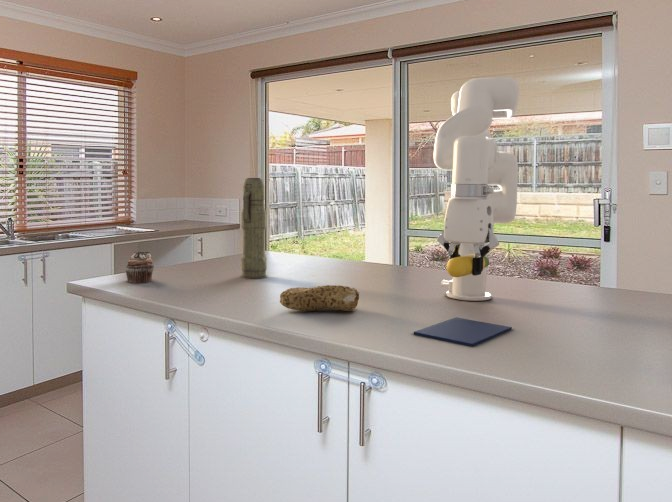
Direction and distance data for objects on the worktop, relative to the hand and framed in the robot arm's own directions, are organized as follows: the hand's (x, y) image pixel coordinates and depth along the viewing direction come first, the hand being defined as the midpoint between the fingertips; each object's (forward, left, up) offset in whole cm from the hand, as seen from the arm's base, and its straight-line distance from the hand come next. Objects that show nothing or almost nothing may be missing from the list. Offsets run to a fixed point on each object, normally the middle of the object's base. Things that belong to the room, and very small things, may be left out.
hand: (465, 272), depth 135 cm
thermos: (-90, +20, -14) cm, 93 cm away
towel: (0, 0, -14) cm, 14 cm away
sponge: (-38, -6, -14) cm, 41 cm away
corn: (0, +1, -1) cm, 1 cm away
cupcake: (-111, -14, -14) cm, 113 cm away
